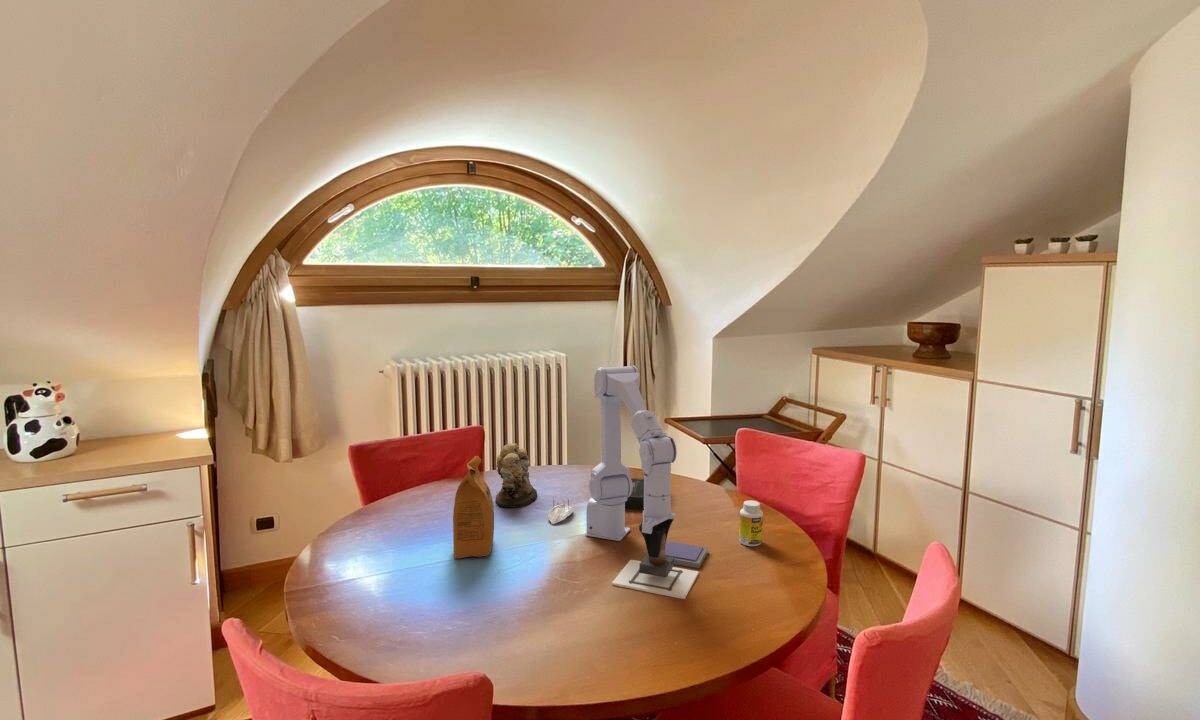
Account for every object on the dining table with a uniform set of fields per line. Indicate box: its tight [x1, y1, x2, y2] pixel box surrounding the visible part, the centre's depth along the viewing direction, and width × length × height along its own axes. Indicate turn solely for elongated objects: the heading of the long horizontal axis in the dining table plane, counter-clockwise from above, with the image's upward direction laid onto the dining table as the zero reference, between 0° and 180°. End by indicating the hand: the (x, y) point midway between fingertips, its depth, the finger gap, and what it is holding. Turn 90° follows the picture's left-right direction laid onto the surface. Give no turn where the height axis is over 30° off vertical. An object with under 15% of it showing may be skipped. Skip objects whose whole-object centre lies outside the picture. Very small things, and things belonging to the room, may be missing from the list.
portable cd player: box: [625, 477, 644, 510], centre depth 188 cm, size 16×17×4 cm
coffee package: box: [452, 455, 495, 560], centre depth 152 cm, size 10×12×22 cm
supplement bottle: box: [738, 500, 764, 547], centre depth 157 cm, size 6×6×10 cm
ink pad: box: [665, 540, 709, 569], centre depth 150 cm, size 11×9×2 cm
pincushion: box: [547, 496, 574, 525], centre depth 174 cm, size 12×6×6 cm, turn 164°
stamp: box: [639, 533, 675, 577], centre depth 138 cm, size 6×6×8 cm
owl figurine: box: [495, 442, 538, 509], centre depth 187 cm, size 18×12×17 cm, turn 176°
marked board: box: [611, 559, 699, 600], centre depth 139 cm, size 16×12×1 cm
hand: (656, 552), depth 138 cm, fingers closed on stamp, 3 cm apart
